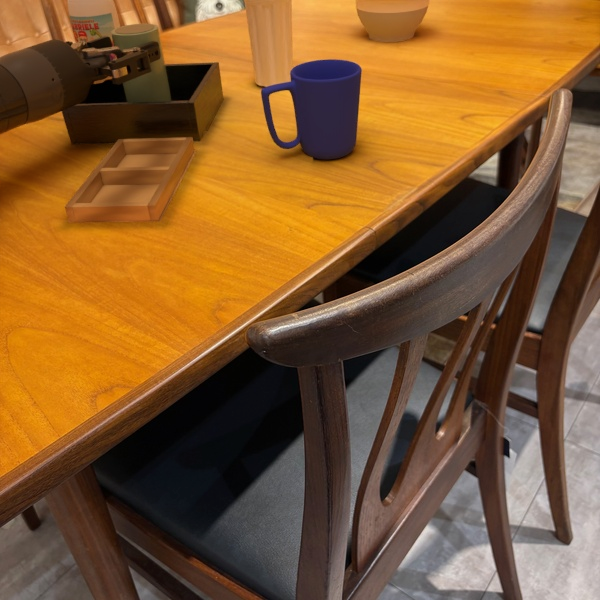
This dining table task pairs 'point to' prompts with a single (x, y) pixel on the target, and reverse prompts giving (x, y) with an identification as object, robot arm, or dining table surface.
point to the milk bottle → (93, 19)
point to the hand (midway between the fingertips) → (133, 46)
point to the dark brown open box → (149, 109)
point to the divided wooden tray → (133, 181)
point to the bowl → (391, 18)
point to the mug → (321, 107)
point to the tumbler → (156, 81)
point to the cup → (270, 40)
